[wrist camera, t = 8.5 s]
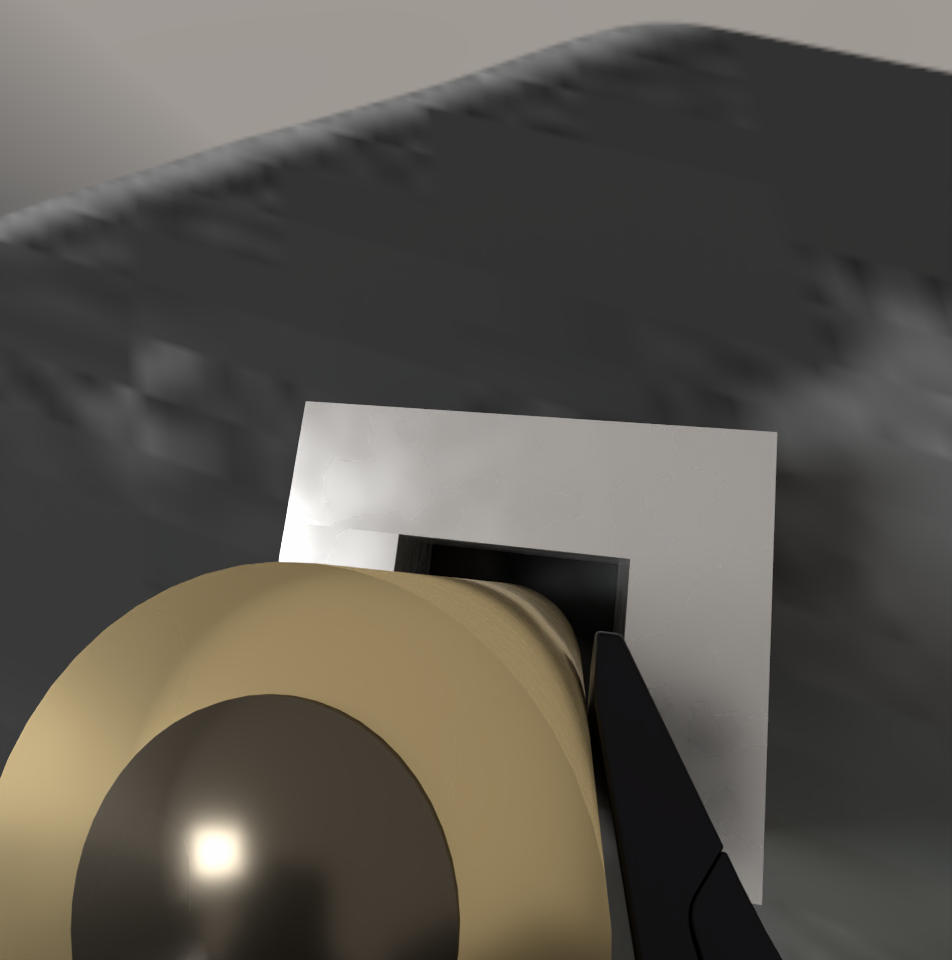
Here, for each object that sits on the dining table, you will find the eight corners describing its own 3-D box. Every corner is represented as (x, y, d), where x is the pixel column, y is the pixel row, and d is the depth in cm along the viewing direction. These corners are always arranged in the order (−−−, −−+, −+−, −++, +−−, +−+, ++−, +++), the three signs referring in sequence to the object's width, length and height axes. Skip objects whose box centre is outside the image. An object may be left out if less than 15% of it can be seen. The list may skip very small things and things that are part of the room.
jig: (718, 831, 17) (761, 905, 13) (306, 754, 19) (238, 798, 15) (734, 464, 19) (777, 432, 15) (355, 435, 21) (305, 401, 17)
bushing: (613, 692, 16) (782, 1127, 3) (476, 775, 16) (89, 1518, 3) (527, 554, 17) (382, 441, 4) (400, 633, 17) (-119, 763, 4)
